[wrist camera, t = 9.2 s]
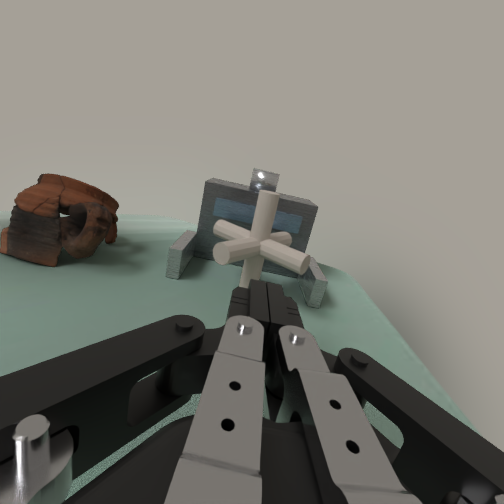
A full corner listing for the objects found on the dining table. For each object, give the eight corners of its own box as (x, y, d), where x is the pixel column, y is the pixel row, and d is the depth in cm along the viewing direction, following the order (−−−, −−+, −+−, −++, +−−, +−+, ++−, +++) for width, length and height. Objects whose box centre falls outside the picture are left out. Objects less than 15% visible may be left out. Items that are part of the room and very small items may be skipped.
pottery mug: (-29, 247, 25) (10, 167, 27) (74, 273, 33) (99, 209, 35) (33, 262, 19) (78, 157, 21) (141, 289, 27) (167, 211, 29)
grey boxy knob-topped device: (165, 276, 27) (182, 154, 24) (193, 240, 39) (207, 156, 36) (319, 308, 28) (356, 195, 24) (299, 263, 40) (322, 183, 37)
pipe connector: (240, 264, 34) (257, 182, 31) (312, 301, 29) (343, 206, 26) (173, 283, 26) (187, 175, 23) (257, 338, 21) (290, 209, 18)
